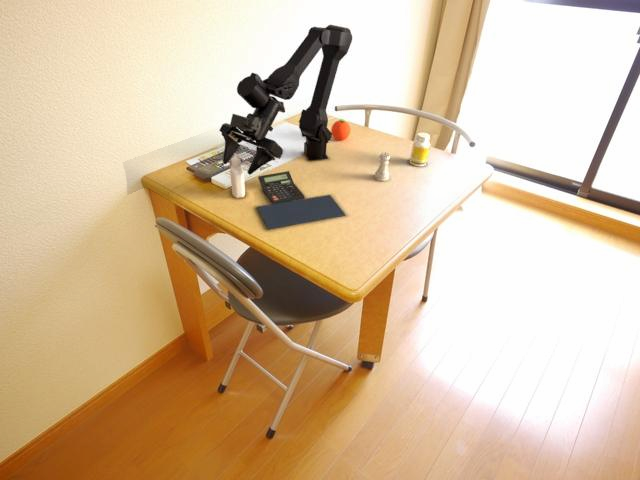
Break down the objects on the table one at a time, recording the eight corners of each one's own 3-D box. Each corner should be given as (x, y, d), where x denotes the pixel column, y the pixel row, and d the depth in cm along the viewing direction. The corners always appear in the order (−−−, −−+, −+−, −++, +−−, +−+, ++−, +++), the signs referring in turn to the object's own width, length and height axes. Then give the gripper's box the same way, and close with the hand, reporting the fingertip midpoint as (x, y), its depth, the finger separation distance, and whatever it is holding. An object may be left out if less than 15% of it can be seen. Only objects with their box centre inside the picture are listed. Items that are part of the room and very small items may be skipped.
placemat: (329, 196, 115) (329, 194, 114) (345, 215, 107) (345, 214, 107) (257, 207, 108) (257, 206, 107) (268, 229, 100) (268, 228, 100)
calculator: (272, 204, 109) (272, 195, 107) (258, 184, 117) (258, 175, 116) (304, 198, 113) (304, 189, 111) (288, 179, 121) (288, 170, 119)
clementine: (332, 133, 151) (334, 114, 147) (351, 136, 150) (353, 117, 146) (328, 141, 145) (330, 122, 140) (348, 144, 144) (350, 125, 140)
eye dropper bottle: (249, 189, 115) (247, 150, 108) (242, 199, 111) (239, 159, 103) (234, 187, 116) (231, 148, 108) (227, 197, 111) (223, 156, 104)
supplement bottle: (428, 166, 133) (434, 138, 127) (412, 166, 132) (418, 138, 126) (422, 159, 137) (428, 131, 131) (407, 159, 136) (412, 131, 131)
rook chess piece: (390, 177, 126) (394, 153, 121) (386, 183, 122) (390, 158, 118) (376, 173, 127) (380, 149, 122) (372, 179, 124) (375, 155, 119)
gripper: (221, 92, 106) (193, 144, 105) (275, 110, 98) (245, 167, 97) (244, 114, 116) (218, 162, 115) (295, 132, 108) (267, 184, 107)
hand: (236, 168), depth 108 cm, fingers open, 9 cm apart
